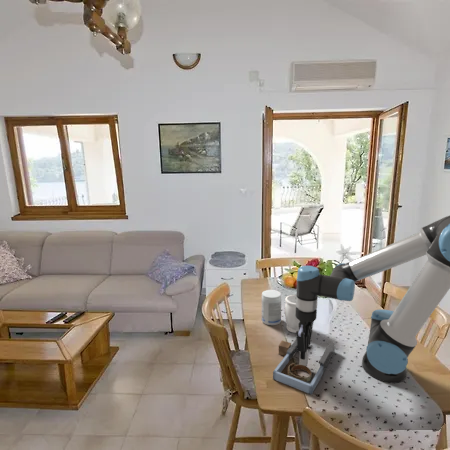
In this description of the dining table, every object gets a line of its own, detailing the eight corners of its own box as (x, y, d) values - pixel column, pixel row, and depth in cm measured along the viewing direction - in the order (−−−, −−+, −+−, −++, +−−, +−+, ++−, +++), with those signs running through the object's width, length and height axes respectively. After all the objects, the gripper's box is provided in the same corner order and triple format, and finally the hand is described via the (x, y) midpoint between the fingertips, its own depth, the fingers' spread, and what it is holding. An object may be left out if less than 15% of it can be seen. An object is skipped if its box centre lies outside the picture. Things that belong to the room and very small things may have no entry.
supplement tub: (283, 319, 158) (284, 292, 155) (276, 328, 150) (277, 299, 147) (265, 314, 163) (266, 288, 160) (258, 322, 155) (258, 294, 152)
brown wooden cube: (290, 351, 132) (291, 343, 131) (287, 356, 129) (288, 348, 128) (281, 349, 134) (281, 340, 133) (278, 354, 131) (278, 345, 130)
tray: (286, 360, 126) (286, 353, 126) (322, 373, 119) (323, 366, 118) (272, 379, 116) (273, 371, 115) (311, 394, 108) (312, 386, 108)
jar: (307, 335, 144) (308, 305, 141) (283, 333, 146) (284, 303, 143) (306, 324, 154) (307, 295, 151) (284, 322, 156) (285, 293, 153)
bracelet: (283, 371, 120) (283, 364, 120) (302, 366, 123) (303, 359, 123) (295, 386, 112) (295, 379, 112) (316, 380, 115) (316, 373, 115)
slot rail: (300, 341, 140) (301, 332, 139) (334, 351, 132) (334, 342, 131) (286, 360, 127) (286, 351, 126) (322, 373, 119) (323, 363, 118)
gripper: (302, 298, 124) (299, 353, 129) (289, 312, 113) (287, 370, 118) (321, 303, 120) (318, 359, 125) (310, 317, 109) (307, 378, 114)
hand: (303, 364), depth 122 cm, fingers closed
